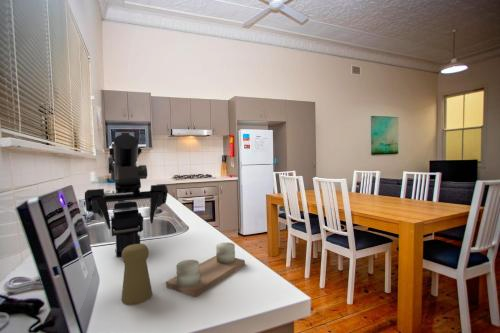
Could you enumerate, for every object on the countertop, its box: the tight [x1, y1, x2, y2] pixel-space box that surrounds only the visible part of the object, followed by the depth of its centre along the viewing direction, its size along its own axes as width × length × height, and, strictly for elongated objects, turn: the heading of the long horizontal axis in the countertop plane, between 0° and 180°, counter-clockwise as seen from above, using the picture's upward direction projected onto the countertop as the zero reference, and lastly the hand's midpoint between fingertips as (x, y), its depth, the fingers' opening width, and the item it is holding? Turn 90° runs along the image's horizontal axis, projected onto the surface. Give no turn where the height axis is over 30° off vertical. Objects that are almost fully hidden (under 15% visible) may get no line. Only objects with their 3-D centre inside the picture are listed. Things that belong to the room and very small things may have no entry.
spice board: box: [165, 241, 246, 298], centre depth 65 cm, size 9×19×5 cm, turn 148°
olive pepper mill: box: [121, 243, 153, 306], centre depth 55 cm, size 6×6×11 cm
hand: (131, 225), depth 62 cm, fingers open, 9 cm apart
